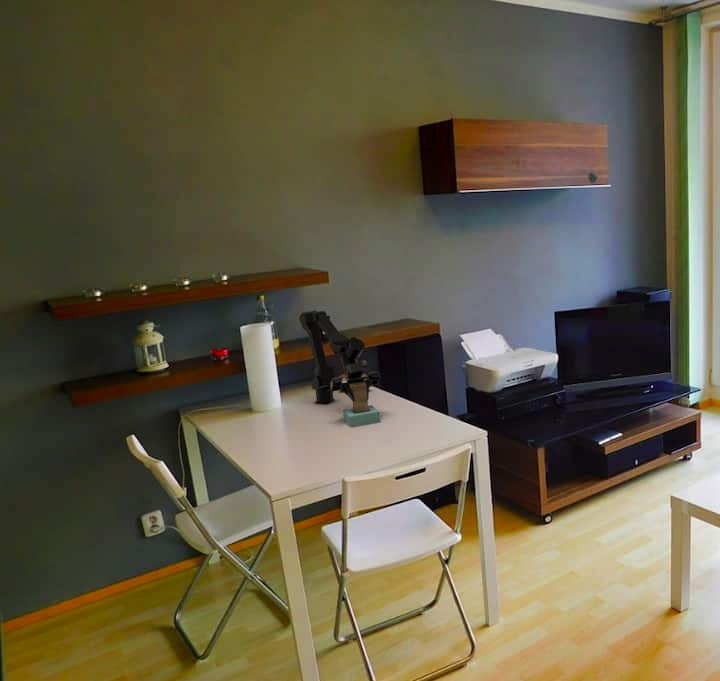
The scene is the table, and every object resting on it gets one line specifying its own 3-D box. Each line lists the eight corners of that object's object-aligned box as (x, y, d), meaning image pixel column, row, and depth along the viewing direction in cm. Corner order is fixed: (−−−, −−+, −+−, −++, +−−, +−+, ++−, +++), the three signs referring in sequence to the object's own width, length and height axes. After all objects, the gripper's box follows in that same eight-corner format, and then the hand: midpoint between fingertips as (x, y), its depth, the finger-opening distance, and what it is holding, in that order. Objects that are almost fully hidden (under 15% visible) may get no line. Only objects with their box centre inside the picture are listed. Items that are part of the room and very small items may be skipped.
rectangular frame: (344, 419, 233) (343, 409, 232) (372, 415, 236) (371, 405, 235) (350, 427, 224) (349, 416, 223) (380, 421, 227) (379, 411, 226)
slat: (354, 417, 231) (351, 384, 228) (366, 415, 232) (364, 382, 229) (356, 419, 228) (353, 386, 225) (368, 417, 229) (366, 384, 227)
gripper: (329, 357, 227) (339, 393, 218) (376, 350, 232) (388, 385, 223) (326, 373, 236) (335, 408, 227) (372, 366, 240) (383, 400, 232)
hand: (361, 400), depth 227 cm, fingers closed on slat, 5 cm apart
